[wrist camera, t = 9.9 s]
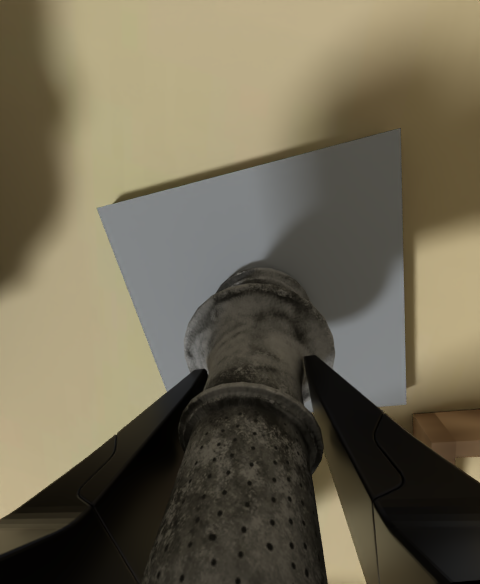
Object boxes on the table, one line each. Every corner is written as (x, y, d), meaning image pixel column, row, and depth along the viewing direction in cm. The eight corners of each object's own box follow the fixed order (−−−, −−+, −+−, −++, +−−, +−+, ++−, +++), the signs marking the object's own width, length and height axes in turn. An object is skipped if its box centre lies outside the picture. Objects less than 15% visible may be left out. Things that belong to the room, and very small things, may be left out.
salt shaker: (232, 240, 12) (-296, 772, 1) (341, 293, 12) (1067, 1245, 1) (189, 336, 14) (-125, 862, 3) (284, 380, 14) (331, 1017, 3)
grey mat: (183, 411, 18) (179, 422, 17) (108, 207, 14) (96, 208, 13) (398, 392, 15) (406, 404, 14) (389, 134, 11) (400, 127, 10)
